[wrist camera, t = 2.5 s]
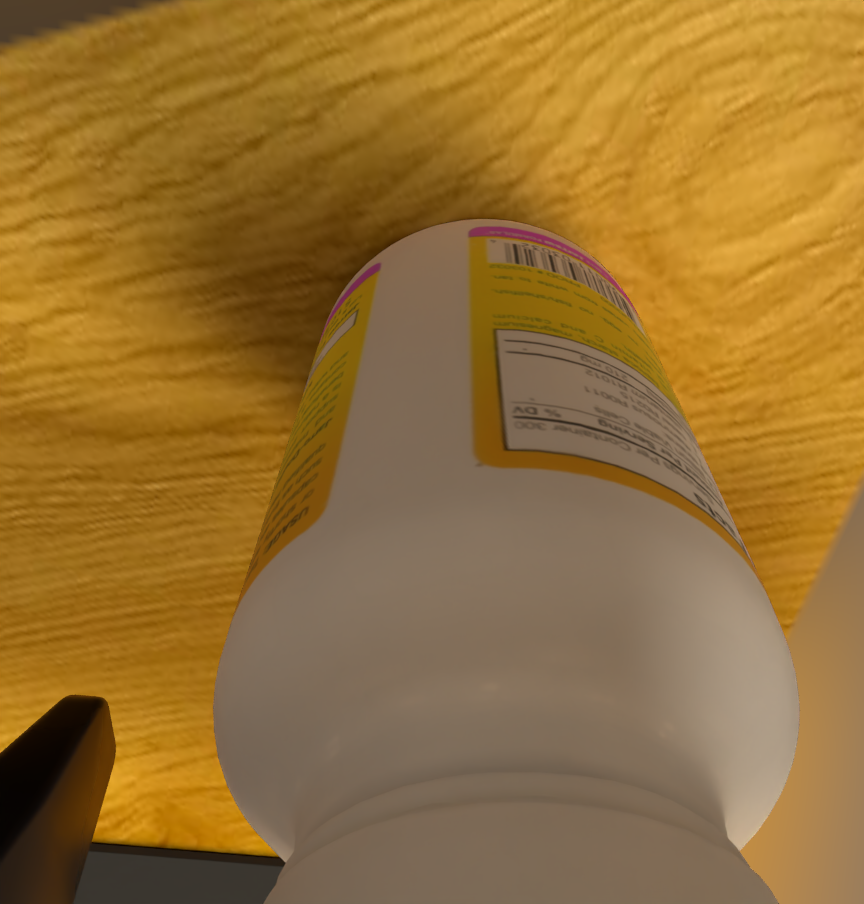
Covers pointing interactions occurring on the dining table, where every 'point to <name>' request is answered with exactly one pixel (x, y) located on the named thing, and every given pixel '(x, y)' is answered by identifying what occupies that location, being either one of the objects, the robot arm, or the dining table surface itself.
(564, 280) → the supplement bottle
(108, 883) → the mat
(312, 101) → the dining table surface
